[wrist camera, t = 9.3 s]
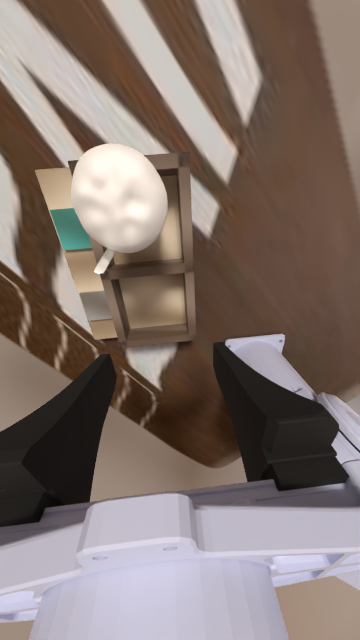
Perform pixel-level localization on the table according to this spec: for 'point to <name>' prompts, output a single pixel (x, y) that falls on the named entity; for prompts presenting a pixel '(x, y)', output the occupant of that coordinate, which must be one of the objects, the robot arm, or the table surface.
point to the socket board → (132, 263)
